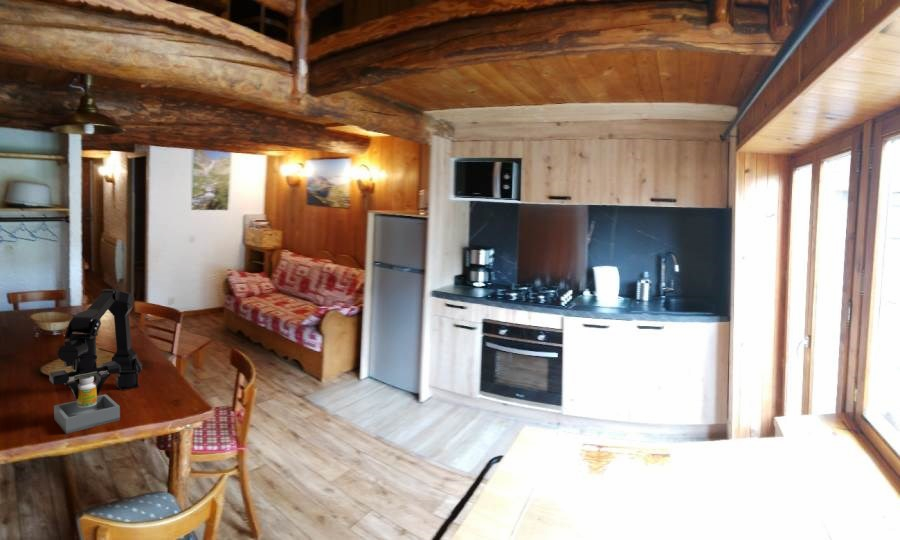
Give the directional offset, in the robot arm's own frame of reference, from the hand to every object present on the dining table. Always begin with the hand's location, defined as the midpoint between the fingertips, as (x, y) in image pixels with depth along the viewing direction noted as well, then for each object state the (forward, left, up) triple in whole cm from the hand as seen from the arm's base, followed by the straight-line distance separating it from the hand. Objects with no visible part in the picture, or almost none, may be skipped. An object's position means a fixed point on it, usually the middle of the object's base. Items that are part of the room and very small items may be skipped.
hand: (87, 396), depth 165 cm
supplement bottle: (0, 0, -3) cm, 3 cm away
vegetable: (-12, -41, -9) cm, 44 cm away
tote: (0, 0, -8) cm, 8 cm away
